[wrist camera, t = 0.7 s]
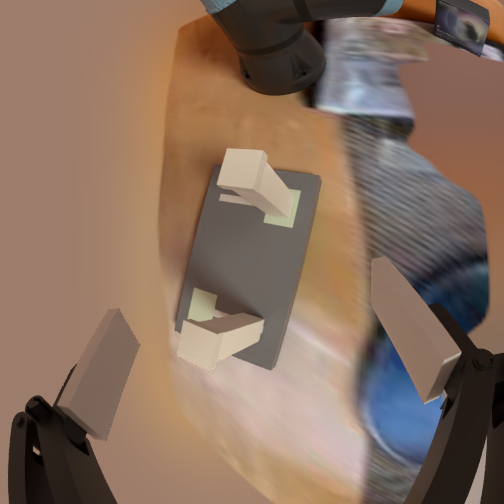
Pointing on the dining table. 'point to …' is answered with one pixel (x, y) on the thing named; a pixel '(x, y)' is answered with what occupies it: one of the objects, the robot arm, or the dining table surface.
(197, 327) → the lever
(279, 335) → the switch panel
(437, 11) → the small box
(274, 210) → the lever
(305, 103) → the dining table surface
